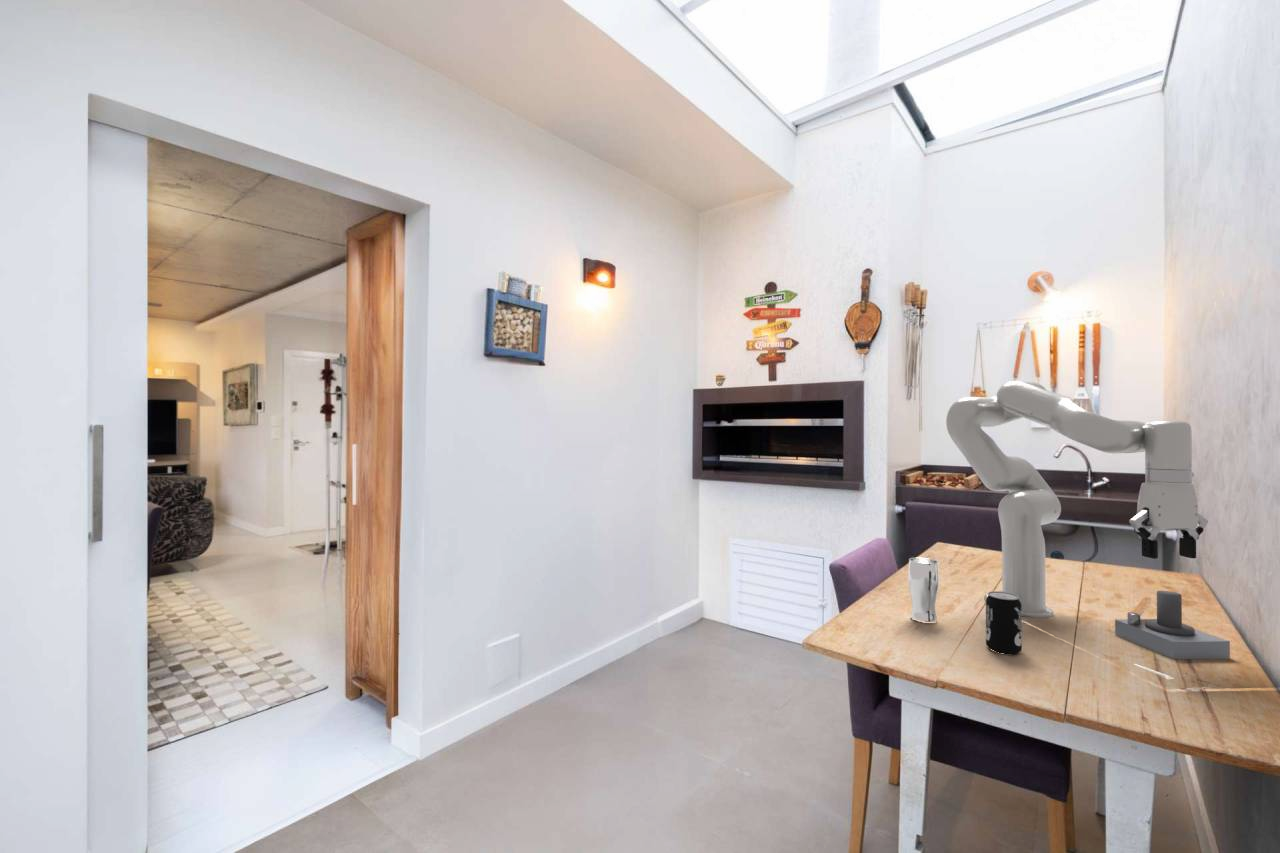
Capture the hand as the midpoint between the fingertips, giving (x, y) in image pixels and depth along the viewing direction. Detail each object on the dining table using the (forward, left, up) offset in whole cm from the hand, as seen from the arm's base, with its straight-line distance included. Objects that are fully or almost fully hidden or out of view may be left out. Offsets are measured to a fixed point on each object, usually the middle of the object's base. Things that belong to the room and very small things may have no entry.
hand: (1168, 556), depth 125 cm
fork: (-16, -12, -21) cm, 29 cm away
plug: (0, 0, -19) cm, 19 cm away
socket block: (0, 0, -20) cm, 20 cm away
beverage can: (-37, 0, -20) cm, 42 cm away
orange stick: (+2, +9, -16) cm, 18 cm away
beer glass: (-44, +20, -20) cm, 52 cm away
